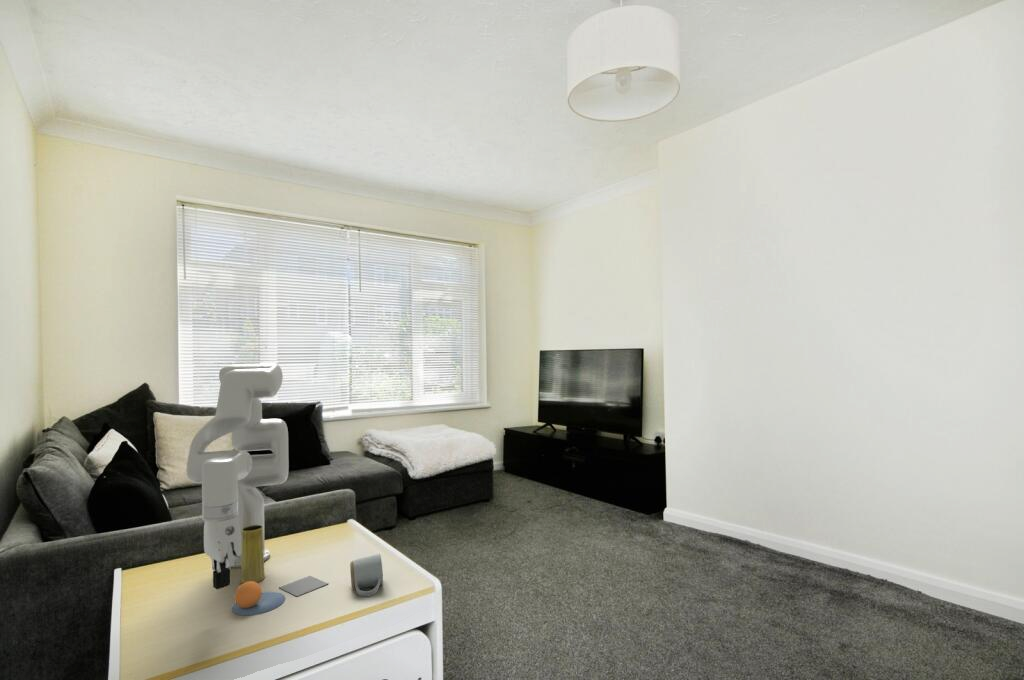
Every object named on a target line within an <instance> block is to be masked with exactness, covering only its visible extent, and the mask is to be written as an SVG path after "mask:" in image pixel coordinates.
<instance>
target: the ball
mask: <svg viewBox="0 0 1024 680" xmlns="http://www.w3.org/2000/svg"><path fill="white" fill-rule="evenodd" d="M262 593H263V591H262V587H261V585H260V584H259V582H253V581H249V582H245V583H241V584H240V585H239V586H238V587H237V589H236V590H235V594H234V602H235V603H236V604H237V605H238V606H239V607H241V608H250V607H253V606H254V605H255V604H257V603H258V601H259V600H260V598H261V595H262Z"/></svg>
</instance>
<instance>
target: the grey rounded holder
mask: <svg viewBox="0 0 1024 680" xmlns="http://www.w3.org/2000/svg"><path fill="white" fill-rule="evenodd" d="M349 568H350V583H351V588H352V589H355V590H356V593H357V594H358V595H360V596H362V597H369V596H368V595H371V596H373V595H375V594H376V593H377V592H378V590H379V588H380V586H382V585H384V573H383V563H382V556H381V554H380V553H378V554H377V553H376V554H373V555H370V556H366V557H360V558H356V559H354V560H352V561H350V565H349ZM370 587H373V589H370V590H367V591H364V590H361V589H364V588H370ZM374 593H375V594H374ZM372 594H373V595H372Z"/></svg>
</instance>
